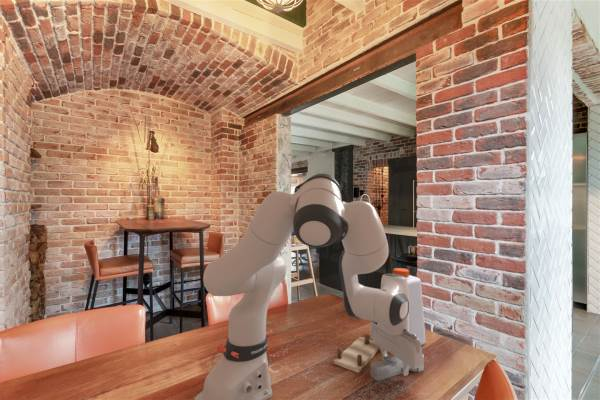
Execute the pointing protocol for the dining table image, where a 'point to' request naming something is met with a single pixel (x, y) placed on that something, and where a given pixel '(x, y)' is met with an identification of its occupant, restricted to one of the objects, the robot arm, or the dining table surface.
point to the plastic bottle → (414, 304)
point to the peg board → (357, 354)
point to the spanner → (389, 368)
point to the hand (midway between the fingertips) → (394, 367)
